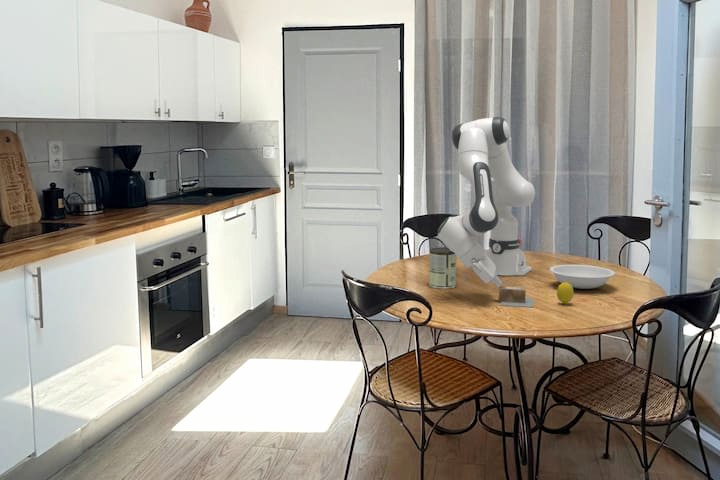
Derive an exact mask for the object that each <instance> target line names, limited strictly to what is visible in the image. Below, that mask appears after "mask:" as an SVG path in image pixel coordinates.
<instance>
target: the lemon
mask: <svg viewBox="0 0 720 480" xmlns="http://www.w3.org/2000/svg"><path fill="white" fill-rule="evenodd" d="M556 296H557V299H558V300H559V302H561V303H562V304H563V305H566V304H568V303H569V302H571V301H572V300H573V298H574V288H573V287H572V286H571V285H570V284H569V283H567V282H564V283H560V284H559V285H558V287H557V290H556Z"/></svg>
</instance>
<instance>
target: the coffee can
mask: <svg viewBox="0 0 720 480" xmlns="http://www.w3.org/2000/svg"><path fill="white" fill-rule="evenodd" d="M456 284H457V256H456V254H455V253H454V252H452V251H451V250H450V249H449V248H448V247H443V246H442V247H441V246H440V247H432V248H429V284H428V286H429V287H430V288H434V289H443V290H444V289H445V290H447V289H454V288H455V287H456V286H457V285H456Z"/></svg>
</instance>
